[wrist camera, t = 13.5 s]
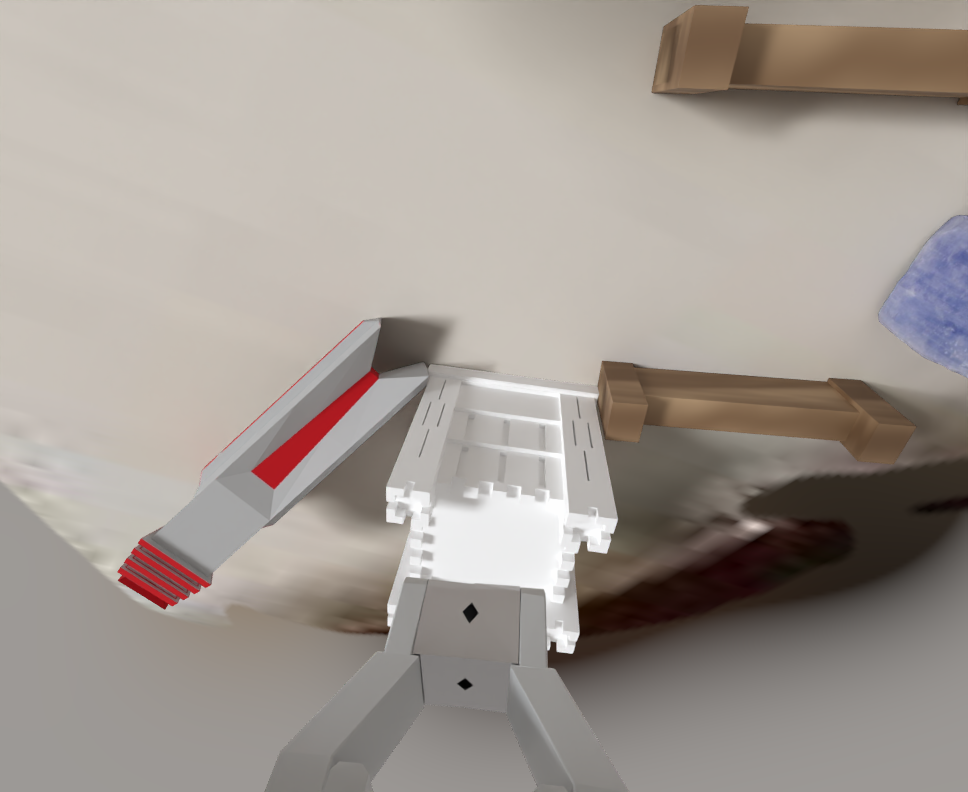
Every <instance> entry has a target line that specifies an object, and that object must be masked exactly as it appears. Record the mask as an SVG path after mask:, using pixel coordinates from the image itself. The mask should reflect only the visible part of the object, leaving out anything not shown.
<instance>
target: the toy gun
mask: <svg viewBox="0 0 968 792" xmlns="http://www.w3.org/2000/svg"><path fill="white" fill-rule="evenodd" d="M380 328H381V318H376V319H369V320H363V321H362V322H361V323H360V324H359V325H358V326H357V327H356V328H355V329H353V330H352V331H351V332H350V333H349V334H348V335H347V336H346V337H345V338H344V339H343V340H342V341H340V342H339V343H338V344H337V345H336V346H335V347H334V348H333V349H332V350H331V351H330V352H329V353H327V354H326V355H325V356H324V357H323V358H322V359H321V360H320V361H319V362H318V363H317V364H316V365H314V366H313V367H312V368H311V369H310V370H309V371H308V372H307V373H306V374H305V375H304V376H303V377H302V378H300V379H299V380H298V381H297V382H296V383H295V384H294V385H293V386H292V387H291V388H290V389H289V390H287V391H286V392H285V393H284V394H283V395H282V396H281V397H280V398H279V399H278V400H277V401H276V402H274V403H273V404H272V405H271V406H270V407H269V408H268V409H267V410H266V411H265V412H264V413H263V414H261V415H260V416H259V417H258V418H257V419H256V420H255V421H254V422H253V423H252V424H251V425H250V426H249V427H247V428H246V429H245V430H244V431H243V432H242V433H241V434H240V435H239V436H238V437H237V438H236V439H234V440H233V441H232V442H231V443H230V444H229V445H228V446H227V447H226V448H225V449H224V450H223V451H221V452H220V453H219V454H218V455H217V456H216V457H215V458H214V459H213V460H212V461H211V462H210V463H208V464H207V465H206V466H205V468H204V469H203V470H202V472H201V478H200V483H199V487H198V490H197V492H196V494H195V496H194V498H193V500H192V501H191V502H190V503H189V504H188V505H187V506H185V507H184V508H183V509H182V510H181V511H180V512H179V513H178V514H177V515H176V516H175V517H174V518H172V519H171V520H170V521H169V522H168V523H167V524H166V525H165V526H163V527H161V528H159V529H158V530H156V531H154V532H152V533H150V534H148V535H147V536H145V537H143V538H141V539H140V541H139V542H138V544H140V545H138V546H137V547H135V548H134V549H133V551H132V552H131V553H132V554H131V555H130V556H129V557H128V558H127V559H126V560H125V562H124V564H123V565H122V566H121V567H120V569H119V570H118V573H120V574H121V575H122V576H121V577H120V578H119V580H118V581H119V582H121V583H123V584H124V585H126V586H127V587H129V588H131V589H132V590H134V591H136V592H137V593H139V594H140V595H142V596H144V597H145V598H147V599H148V600H150V601H152V602H153V603H155V604H157V605H158V606H160V607H161V608H163V609H166V607H167V606H168V604H169V605H171V606H174V605H175V604H177V603H178V601H179V599H180V598H181V599H182V600H185V599H186V598H188V597H189V595H190V592H192V593H193V594H195V593H197V592H199V591H200V589H201V585H202V586H203V587H205V588H206V587H208V586H210V585H211V583H212V576H213V572H214V571H215V570H216V569H217V568H218V567H219V566H221V565H222V564H223V563H224V562H225V561H226V560H227V559H228V558H229V557H230V556H232V555H233V554H234V553H235V552H236V551H237V550H238V549H239V548H240V547H241V546H243V545H244V544H245V543H246V542H247V541H248V540H249V539H250V538H251V537H252V536H254V535H255V534H256V533H257V532H258V531H259V530H260V529H261V528H264V527H267V526H271V525H274V524H275V523H276V522H277V521H278V520H279V519H280V518H281V517H282V516H283V515H285V514H286V513H287V512H288V511H289V510H290V509H291V508H292V507H293V506H294V505H296V504H297V503H298V502H299V501H300V500H301V499H302V498H303V497H304V496H305V495H307V494H308V493H309V492H310V491H311V490H312V489H313V488H314V487H315V486H316V485H318V484H319V483H320V482H321V481H322V480H323V479H324V478H325V477H326V476H327V475H329V474H330V473H331V472H332V471H333V470H334V469H335V468H336V467H337V466H339V465H340V464H341V463H342V462H343V461H344V460H345V459H346V458H347V457H348V456H350V455H351V454H352V453H353V452H354V451H355V450H356V449H357V448H358V447H359V446H361V445H362V444H363V443H364V442H365V441H366V440H367V439H368V438H369V437H370V436H372V435H373V434H374V433H375V432H376V431H377V430H378V429H379V428H380V427H381V426H383V425H384V424H385V423H386V422H387V421H388V420H389V419H390V418H391V417H392V416H394V415H395V414H396V413H397V412H398V411H399V410H400V409H401V408H402V407H403V406H405V405H406V404H407V403H408V402H409V401H410V400H411V399H412V398H413V397H414V396H416V395H417V394H418V393H419V392H420V391H421V390H422V389H423V388H424V387H425V386H426V383H427V379H428V376H429V371H428V369H427V367H426V365H425V363H424V362H421V363H417V364H414V365H410V366H406V367H403V368H399V369H395V370H391V371H388V372H384V373H380V374H379V373H378V372H377V371H376V370H374V369H373V368H372V367H371V365H372V361H373V357H374V353H375V349H376V344H377V340H378V336H379V332H380Z"/></svg>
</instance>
